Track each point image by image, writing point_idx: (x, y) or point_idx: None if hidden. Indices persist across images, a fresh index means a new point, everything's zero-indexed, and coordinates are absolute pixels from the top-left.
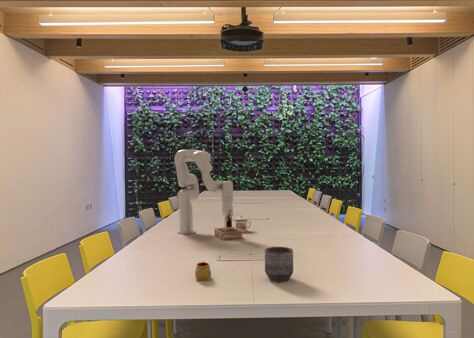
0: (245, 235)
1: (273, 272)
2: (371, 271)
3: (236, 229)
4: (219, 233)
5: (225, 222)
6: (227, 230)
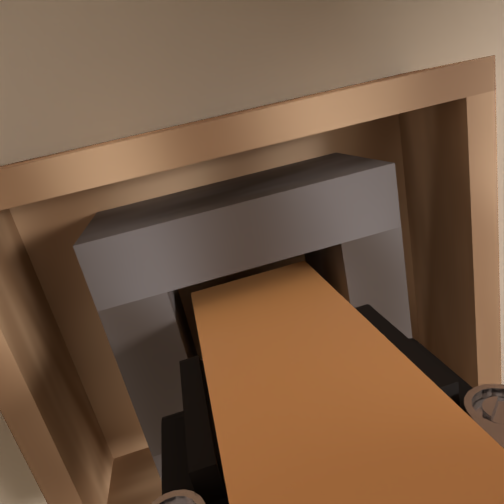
0: None
1: None
2: None
3: None
4: (126, 139)
5: (291, 380)
6: (105, 328)
